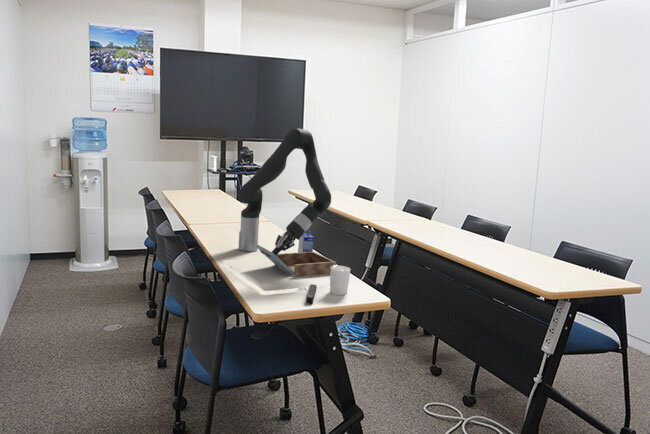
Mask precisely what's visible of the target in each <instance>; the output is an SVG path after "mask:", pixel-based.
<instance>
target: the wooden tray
mask: <svg viewBox="0 0 650 434" xmlns="http://www.w3.org/2000/svg"><path fill="white" fill-rule="evenodd" d="M276 256H277V257H278V258H279V259H280V260H282V261H283V262H284V263H285V264H286V265H287V266H288V267H289V268H290V269H291V270H292V271H293V272H294V275H292V276H293V277H294V278H297V277H307V276H308V277H309V276H320V275H328V274H329V275H330V267H332V266H337V261H334V260H333V259H330V258H328V257H326V256H324V255H322V254H319V253H318V252H315V251H313V252H300V253H298V252H288V253H285V252H284V253H278V254H277V255H276ZM276 267H278V266H276ZM278 268H279V267H278ZM283 271H284V272H286V271H285V270H283ZM288 274H290V273H288ZM290 275H291V274H290Z"/></svg>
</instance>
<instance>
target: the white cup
mask: <svg viewBox="0 0 650 434" xmlns="http://www.w3.org/2000/svg"><path fill="white" fill-rule="evenodd" d="M350 275H351V267H348V266H344V265H336V266H332V267H330V274H329V276H330V277H329V285H330V287H329V292H330V294H332V295H335V296H345V295H347V294H348V287H349V282H350Z"/></svg>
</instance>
